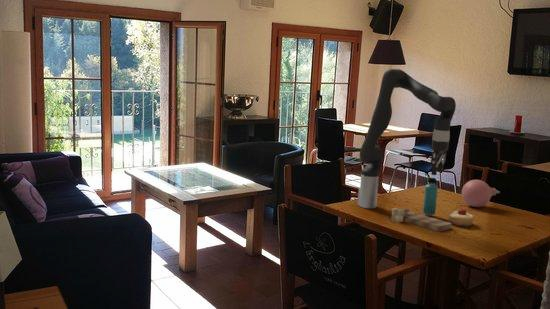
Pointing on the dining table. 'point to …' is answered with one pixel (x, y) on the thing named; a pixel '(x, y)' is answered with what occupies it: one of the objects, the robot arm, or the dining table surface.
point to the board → (426, 221)
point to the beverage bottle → (430, 197)
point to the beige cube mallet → (398, 214)
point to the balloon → (477, 193)
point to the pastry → (461, 218)
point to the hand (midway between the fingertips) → (436, 173)
